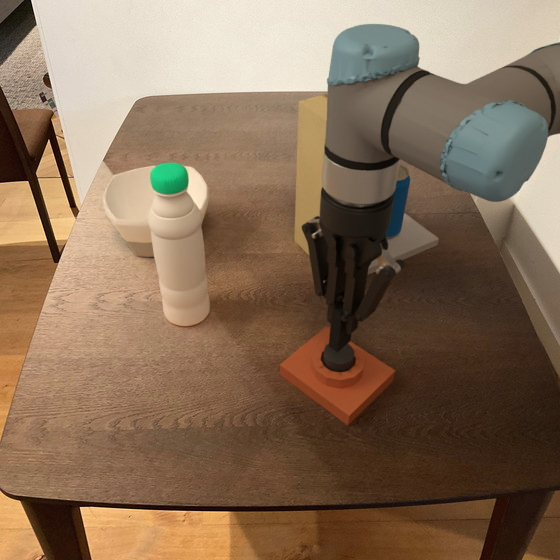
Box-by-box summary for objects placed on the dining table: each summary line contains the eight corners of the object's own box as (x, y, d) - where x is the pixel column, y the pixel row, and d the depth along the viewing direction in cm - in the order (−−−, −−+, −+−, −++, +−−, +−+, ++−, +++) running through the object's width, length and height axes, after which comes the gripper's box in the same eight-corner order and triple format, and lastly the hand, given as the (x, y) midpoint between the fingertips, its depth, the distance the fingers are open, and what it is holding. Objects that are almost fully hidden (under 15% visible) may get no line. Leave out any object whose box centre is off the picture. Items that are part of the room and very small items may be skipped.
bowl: (112, 275, 95) (101, 229, 89) (111, 214, 108) (101, 170, 101) (220, 260, 98) (216, 214, 92) (206, 202, 111) (202, 159, 105)
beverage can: (371, 215, 106) (379, 157, 98) (405, 225, 103) (416, 166, 95) (358, 234, 101) (366, 175, 93) (394, 245, 99) (404, 185, 91)
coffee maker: (437, 245, 102) (471, 105, 84) (340, 286, 93) (356, 140, 76) (386, 206, 110) (407, 72, 93) (294, 241, 102) (298, 100, 85)
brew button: (359, 360, 77) (360, 351, 76) (340, 377, 75) (341, 368, 74) (335, 344, 79) (336, 336, 78) (316, 361, 77) (317, 352, 76)
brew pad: (393, 381, 79) (397, 361, 76) (347, 426, 73) (350, 407, 71) (325, 336, 85) (327, 317, 82) (279, 374, 80) (279, 355, 77)
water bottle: (214, 298, 91) (201, 156, 74) (205, 330, 86) (190, 186, 69) (170, 294, 91) (148, 153, 75) (159, 326, 86) (132, 182, 70)
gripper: (432, 198, 58) (398, 354, 73) (332, 152, 64) (320, 304, 80) (389, 230, 54) (362, 388, 69) (286, 178, 60) (283, 333, 76)
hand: (339, 343), depth 75 cm, fingers closed
